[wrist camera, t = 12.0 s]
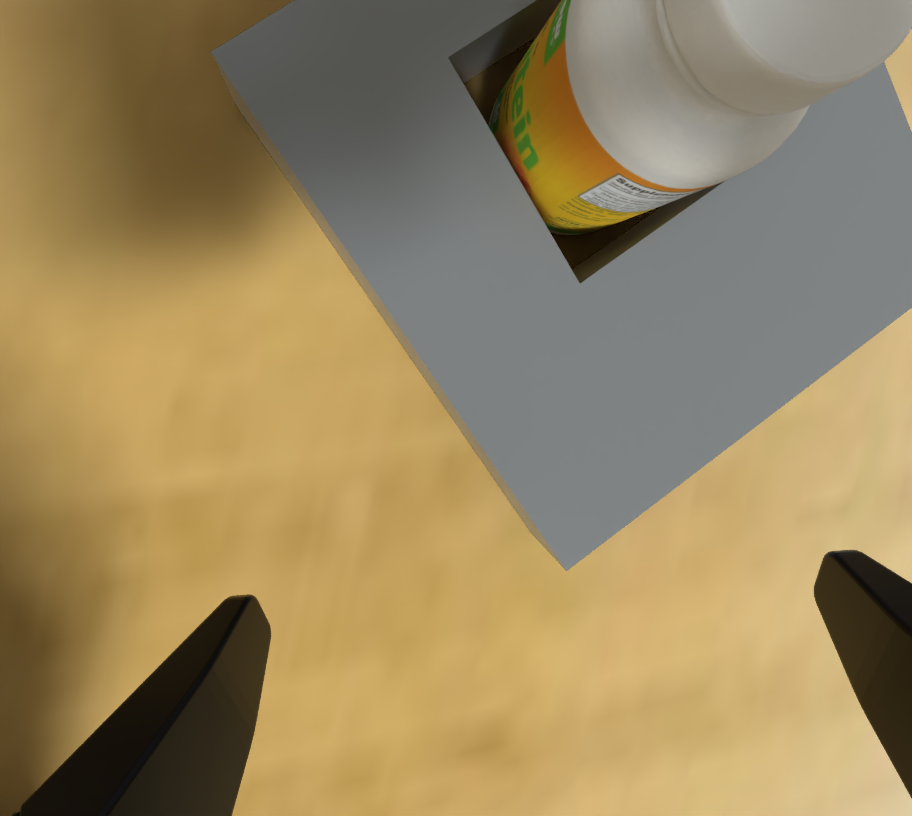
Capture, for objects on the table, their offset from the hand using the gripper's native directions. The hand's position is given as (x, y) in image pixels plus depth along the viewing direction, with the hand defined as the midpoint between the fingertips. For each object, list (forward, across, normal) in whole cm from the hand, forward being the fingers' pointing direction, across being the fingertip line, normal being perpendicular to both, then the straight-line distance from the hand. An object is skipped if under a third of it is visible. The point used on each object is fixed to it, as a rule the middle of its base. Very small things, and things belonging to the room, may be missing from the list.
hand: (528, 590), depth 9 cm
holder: (+13, -4, -3) cm, 14 cm away
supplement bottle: (+13, -3, -4) cm, 14 cm away
